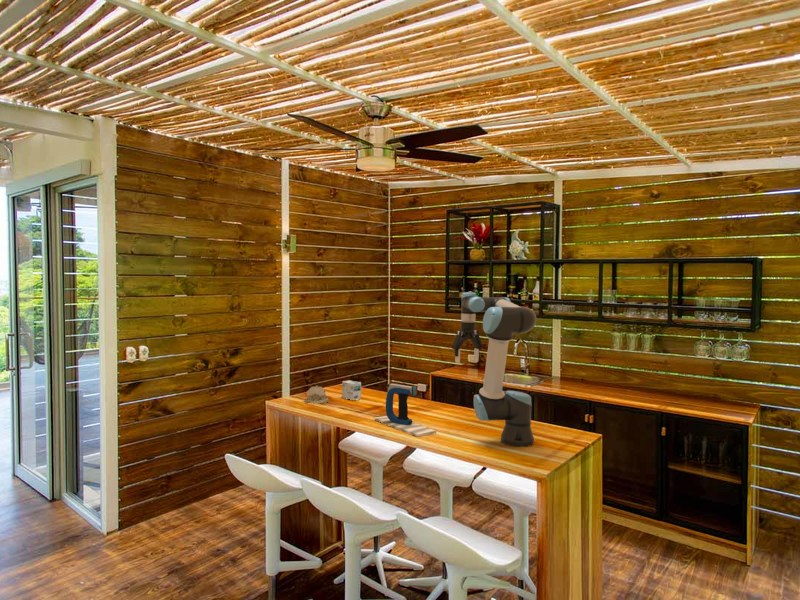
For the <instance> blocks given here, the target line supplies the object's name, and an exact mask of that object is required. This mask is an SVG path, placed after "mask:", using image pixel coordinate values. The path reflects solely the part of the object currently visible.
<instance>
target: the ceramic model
mask: <svg viewBox="0 0 800 600" xmlns="http://www.w3.org/2000/svg"><path fill="white" fill-rule="evenodd" d="M326 394H327V393H326V390H325V388H324V387H322V386H318V385H315V386H310V388H309V389H308V390H307V391H306V396H307V398H306V399H305V400H306V401H305V403H306V402H307V403H306V404H308V403H325V404H328V403H329V397H326V396H327V395H326ZM327 402H328V403H327Z"/></svg>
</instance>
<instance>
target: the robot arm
mask: <svg viewBox="0 0 800 600" xmlns="http://www.w3.org/2000/svg"><path fill="white" fill-rule="evenodd" d="M461 293H462V294H461V303H460V304H461V305H460V307H461V312H460V313H461V314H460V320H461V322H460V329H461V331H459V330H457V331H456V335H455V338H454V341H453V343H452V346H451V349H452V350H454V357H455V359H454V362H455V363H456V364H460V363H461V348H462V345H463V344H464V342H465V341H466V340H470V341H471V343H472V344H473V346H474V348H473V361H475V362H479V358H480V357H479V355H480V350H481V349H482V348H483V343H482V340H481V337H480V334H479V330H476V313H479V312H480V313H484V315H483V317H482V318H483V319H482V330H483V331H484V332H483V333H485V336H486V337H487V338H488V345H487V355H486V360H485V369H484V370H485V371H484V377H483V386H482V387H481V388H480V389H479V391H478V394H475V395H474V397H473V409H474V413H475V416H476V418H477V419H478V420H479V421H486V422H490V421H504V427H503V429H502V433H501V435H500V442H501V441H502V442H501V443H502V444H505V445H507V444H509V445H508V446H511V445H515V446H514V447H520V446H524V447H529V446H528V445H531V446H533V445H534V444H535V437H534V436H533V435H534V434H533V431H532V427H531V425H532V423H531V422H532V406H533V405H532V397H531V395H530V394H528V393H525V392H522V391H516V390H506V391H503V385H504V378H505V370H506V364H507V358H508V357H507V356H508V350H509V344H510V341H512V340H513V337H514V334H518V335H519V334H526V333H528V332H530V331H531V330H532V329H534V327H535V325H536V324H537V315H536V313H535V311H534V310H533V309H531V308H530V307H527V306H519V305H518V304H515V303H513V302H512V301H511V299H510V298H509V297H504V296H501V297H500V296H499V297H498V296H497V297H495V296H493V297H491V296H477V294H476V292H469V291H468V292H467V291H466V292H461ZM533 443H534V444H533ZM532 444H533V445H532Z"/></svg>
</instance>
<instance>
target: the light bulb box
mask: <svg viewBox="0 0 800 600" xmlns="http://www.w3.org/2000/svg"><path fill="white" fill-rule="evenodd" d="M341 386H342V387H341V398H342V397H343V398H347V399H351V400H356V399H360V398H361V399H362V382H361V381H354V380H343V381H342V383H341ZM343 398H342V399H343ZM347 399H346V400H347ZM351 400H350V401H351ZM356 401H357V400H356Z"/></svg>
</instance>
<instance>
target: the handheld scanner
mask: <svg viewBox="0 0 800 600" xmlns="http://www.w3.org/2000/svg"><path fill="white" fill-rule="evenodd" d="M386 385H387V393H386V397H385V413H386V416H387V417H388V418H389V420H390V421H392V422H393V423H397V424H403V425H410V424H412V422H413V418H409V416H408V415H409V414H408V413H409V409H408V408H409V407H408V398H409V395H411V396H412V397H415V396H417V394H418V391H417V389H418V388H417V386H416V385H414V386H409V385H404V384H403V385H402V384H398V383H387V384H386ZM395 394H397V396H398V397H397V398H398V408H397V409H398V416H397V415H396V413H394V395H395Z"/></svg>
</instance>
